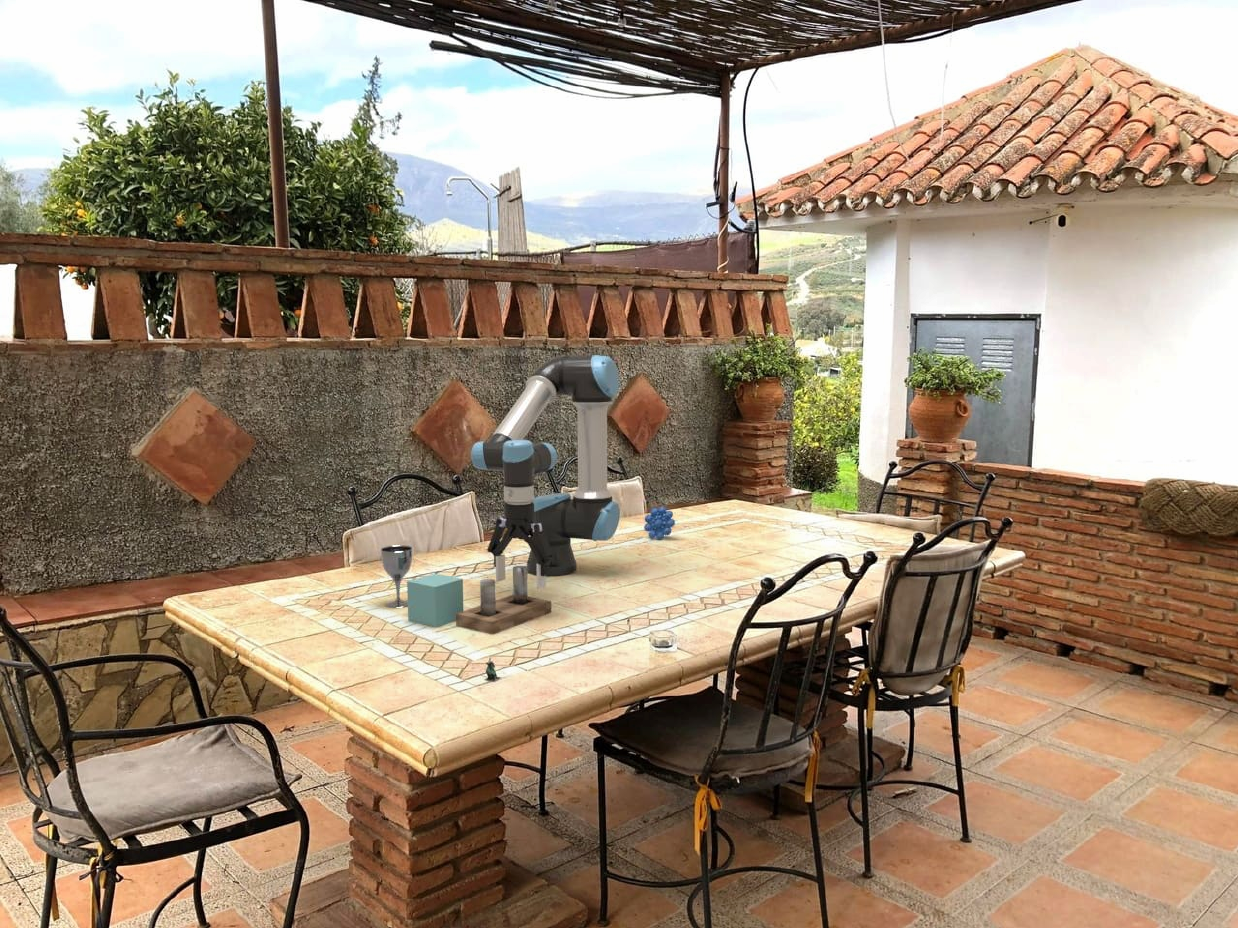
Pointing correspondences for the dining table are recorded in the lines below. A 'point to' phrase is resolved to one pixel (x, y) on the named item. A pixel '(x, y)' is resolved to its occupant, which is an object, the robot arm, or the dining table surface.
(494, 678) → the sculpture
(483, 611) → the board
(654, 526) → the grapes
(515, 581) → the pin
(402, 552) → the wine glass
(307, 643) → the dining table surface
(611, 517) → the robot arm
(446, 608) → the teal cube block
